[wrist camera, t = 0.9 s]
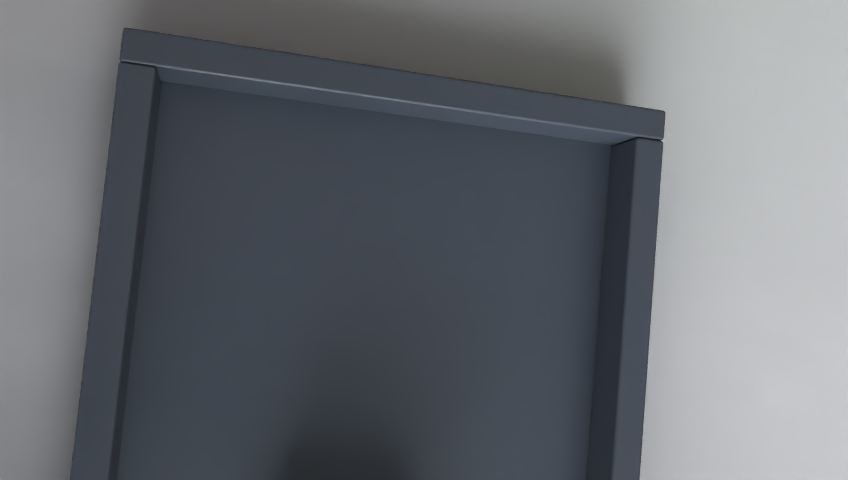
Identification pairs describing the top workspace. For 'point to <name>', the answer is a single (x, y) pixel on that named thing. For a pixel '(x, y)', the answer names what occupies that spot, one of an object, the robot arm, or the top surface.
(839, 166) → the top surface
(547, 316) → the tray
